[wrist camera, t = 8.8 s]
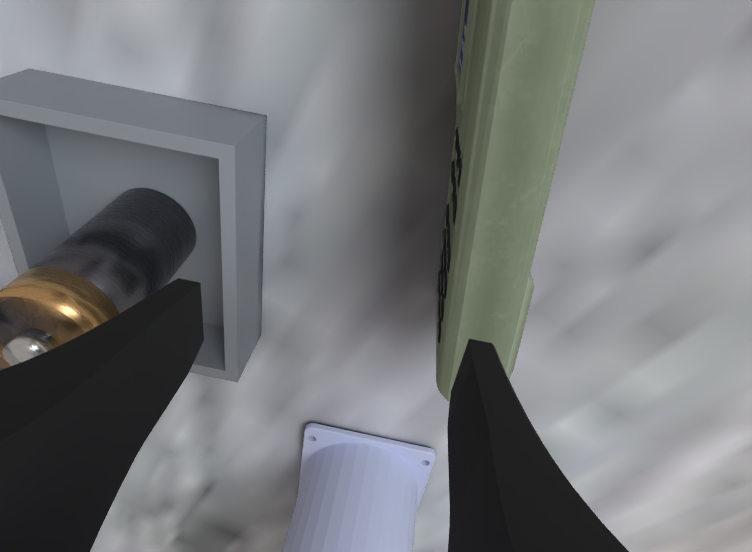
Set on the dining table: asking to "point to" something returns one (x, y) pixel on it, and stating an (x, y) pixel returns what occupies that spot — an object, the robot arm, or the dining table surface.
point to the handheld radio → (502, 167)
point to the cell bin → (141, 170)
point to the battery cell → (95, 273)
